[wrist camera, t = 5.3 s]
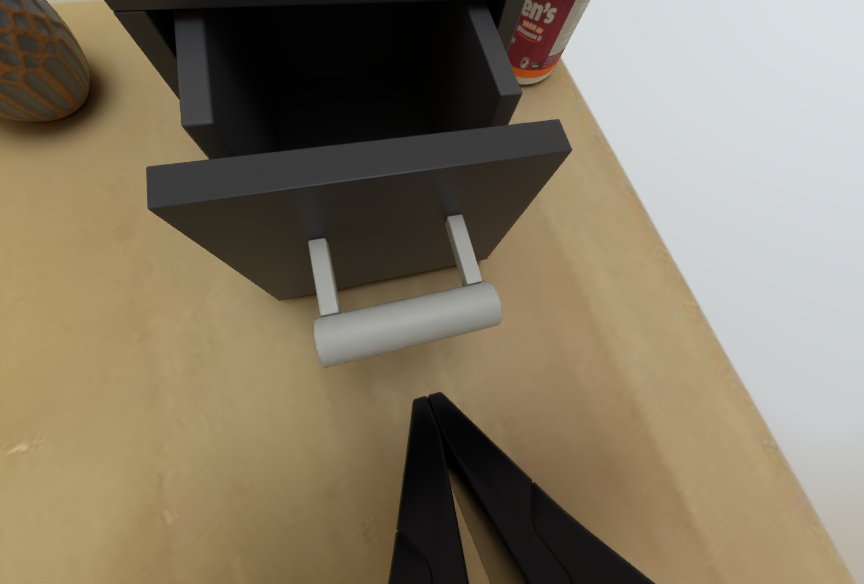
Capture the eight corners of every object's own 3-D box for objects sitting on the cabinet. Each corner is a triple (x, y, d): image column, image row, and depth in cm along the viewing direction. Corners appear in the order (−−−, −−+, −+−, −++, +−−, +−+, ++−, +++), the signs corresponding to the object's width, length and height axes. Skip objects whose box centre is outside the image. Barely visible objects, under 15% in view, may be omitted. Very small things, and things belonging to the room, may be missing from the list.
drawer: (509, 331, 17) (630, 282, 8) (290, 386, 15) (152, 397, 6) (429, 78, 21) (454, -126, 12) (250, 92, 19) (134, -142, 10)
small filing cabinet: (463, 176, 20) (537, -30, 10) (259, 205, 18) (83, -25, 8) (412, 15, 24) (427, -261, 13) (235, 21, 21) (91, -306, 11)
